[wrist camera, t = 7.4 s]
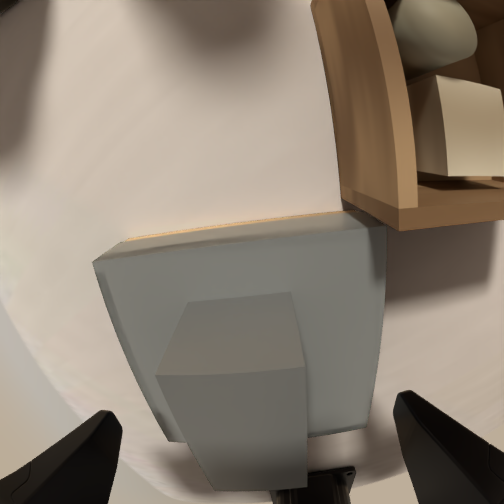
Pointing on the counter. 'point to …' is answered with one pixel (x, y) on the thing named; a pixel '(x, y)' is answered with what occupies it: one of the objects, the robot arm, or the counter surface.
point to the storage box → (417, 107)
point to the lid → (253, 337)
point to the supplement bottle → (6, 4)
